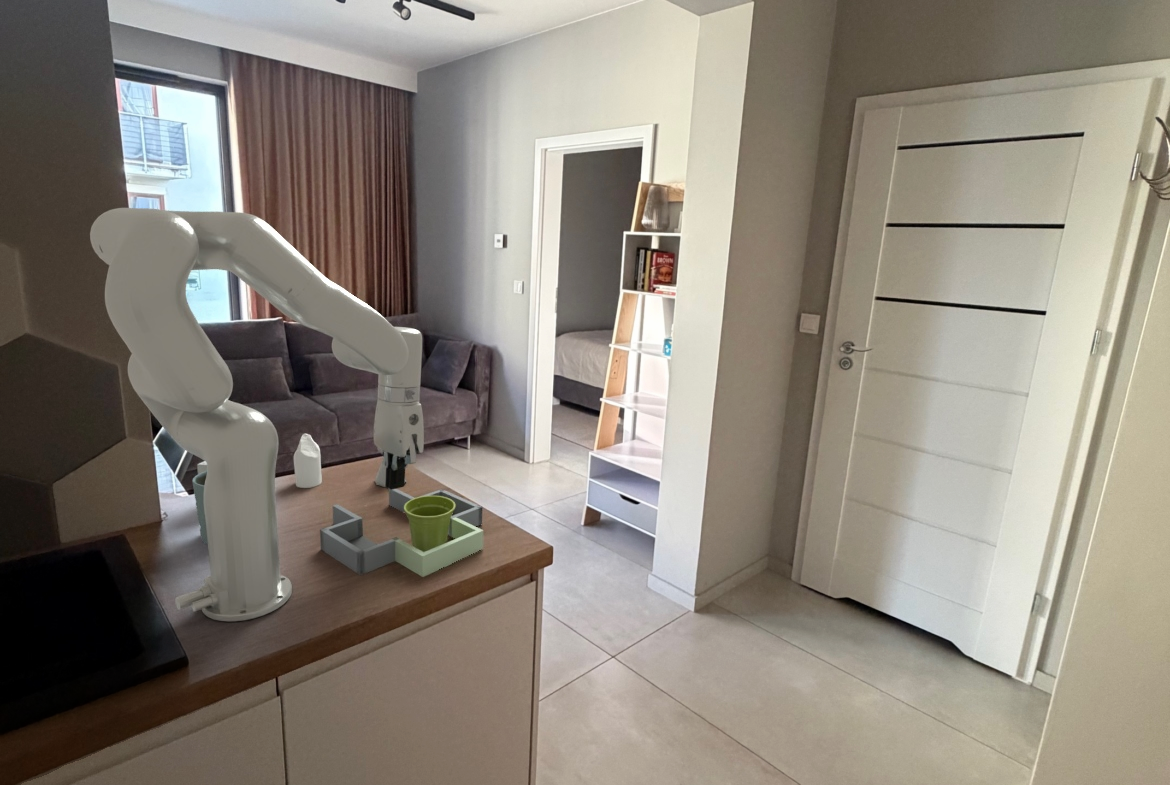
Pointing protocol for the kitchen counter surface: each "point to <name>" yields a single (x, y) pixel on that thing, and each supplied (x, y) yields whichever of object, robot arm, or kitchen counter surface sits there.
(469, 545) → the grey low walled frame
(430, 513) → the plant pot
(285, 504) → the kitchen counter surface
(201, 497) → the sage green cup
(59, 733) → the kitchen counter surface
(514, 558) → the kitchen counter surface
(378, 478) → the flask
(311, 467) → the white broken column
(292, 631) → the kitchen counter surface
